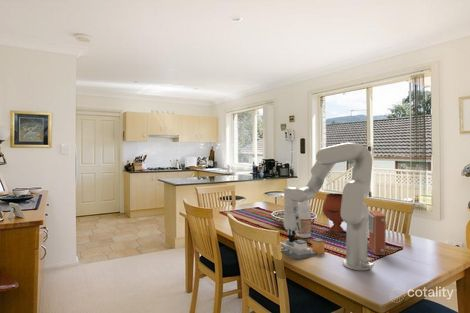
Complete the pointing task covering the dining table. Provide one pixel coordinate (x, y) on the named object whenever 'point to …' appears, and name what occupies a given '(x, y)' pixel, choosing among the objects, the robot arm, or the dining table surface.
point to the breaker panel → (295, 250)
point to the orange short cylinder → (318, 245)
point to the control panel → (377, 232)
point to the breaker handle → (300, 245)
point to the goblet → (333, 210)
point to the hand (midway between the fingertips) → (291, 241)
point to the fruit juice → (304, 219)
